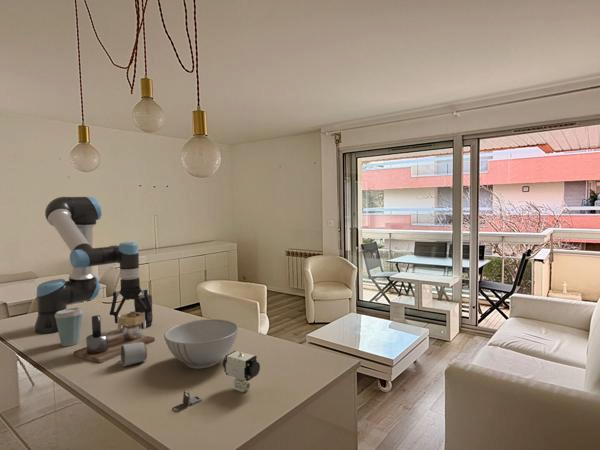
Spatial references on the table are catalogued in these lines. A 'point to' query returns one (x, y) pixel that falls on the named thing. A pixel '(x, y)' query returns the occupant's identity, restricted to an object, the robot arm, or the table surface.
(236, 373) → the pneumatic valve
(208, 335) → the decorative bowl
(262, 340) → the table surface
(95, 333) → the nail polish bottle
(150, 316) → the camera lens
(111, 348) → the board
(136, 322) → the ring
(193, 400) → the strap clip
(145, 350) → the ceramic mug
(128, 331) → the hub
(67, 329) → the disposable coffee cup
